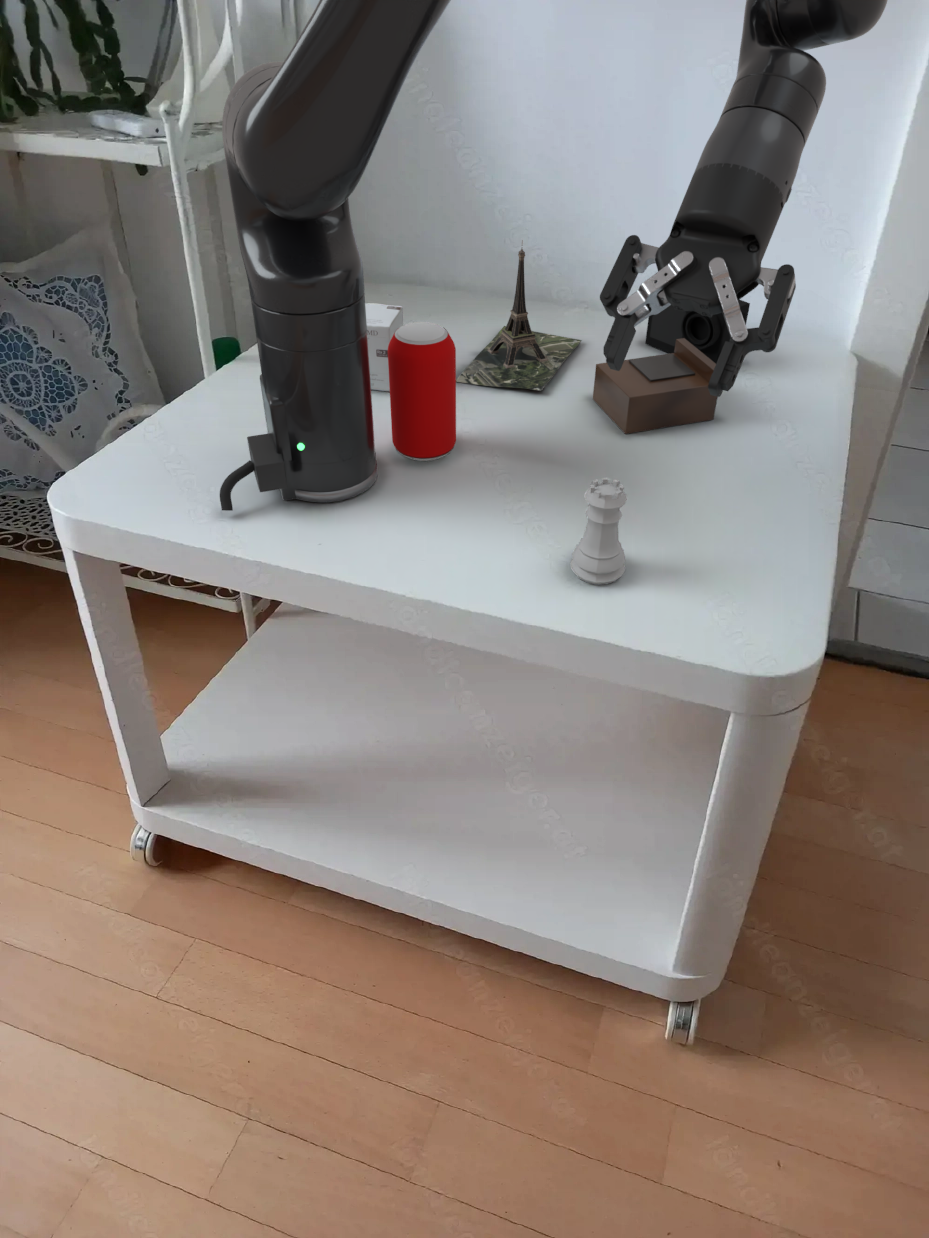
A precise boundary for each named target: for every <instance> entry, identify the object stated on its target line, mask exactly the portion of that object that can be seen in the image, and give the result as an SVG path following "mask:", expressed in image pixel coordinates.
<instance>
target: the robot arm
mask: <svg viewBox="0 0 929 1238" xmlns="http://www.w3.org/2000/svg"><path fill="white" fill-rule="evenodd" d="M451 1H452V0H319V1H318V3H317V5H316V6H315V8H314V11H313V12H312V14H311V16H310V18H309V19H308V21H307V23H306V24H305V26H304V28H303V29H302V31H301V32H300V35H299V36H298V38H297V39H296V41H295V43H294V45H293V46H292V48H291V49H290V51H289V53H288V54H287V56H286V57H285V58H284V60H283V61H268V62H264V63H261V64H258V65H255V66H253V67H252V68H250V69H249V70H248V71H246V72H245V73H243V74H242V75H241V76H240V78H238V79H237V81H236V82H235V83H234V84H233V86H232V88H231V89H230V91H229V93H228V95H227V98H226V100H225V103H224V108H223V112H222V121H221V122H222V123H221V124H222V125H221V129H222V131H221V132H222V133H221V134H222V143H223V151H224V159H225V166H226V171H227V178H228V184H229V190H230V196H231V203H232V208H233V214H234V221H235V227H236V232H237V239H238V240H237V241H238V245H239V250H240V255H241V258H242V261H243V262H242V263H243V265H244V271H245V274H246V277H247V283H248V289H249V290H248V291H249V296H250V302H251V309H252V316H253V323H254V330H255V337H256V344H257V345H256V346H257V351H258V359H259V364H260V375H259V383H260V390H261V391H260V392H261V397H262V405H263V411H264V417H265V424H266V432H267V433H263V434H256V435H249V436H248V435H247V437H246V439H247V445H248V452H249V458H250V459H249V460H248V461H247V462H245V463H244V464H242V465H240V467H238V468H236V469H235V470H234V471H232V472H231V473H230V474H229V475H227V477H226V478H225V479H224V481H223V482H222V483H221V486H220V489H219V502H220V507H221V508H220V509H221V511H225V512H226V511H227V512H228V511H229V512H230V511H234V508H233V501H232V491H233V489H234V487H235V486H236V485H237V484H238V483H239V482H240V481H241V480H243V479H244V478H246V477H247V476H249V475H251V474H252V473H253V474H254V477H255V480H256V484H257V487H258V490H259V493H265V492H271V491H277V490H279V493H280V496H281V498H282V500H283V501H289V500H290V501H291V500H299V501H303V502H311V503H333V502H339V501H344V500H348V499H351V498H354V497H357V496H359V495H361V494H363V493H364V492H366V491H367V490H369V489H370V488H371V487H372V486H373V485H374V484H375V482H376V481H377V479H378V475H379V473H378V472H379V470H378V460H377V452H376V445H375V444H376V443H375V428H374V427H375V425H374V414H373V413H374V411H373V400H372V399H373V397H372V389H371V382H370V367H369V353H368V338H367V323H366V308H365V303H366V296H365V295H366V294H365V278H364V277H365V275H364V264H363V260H362V256H361V253H360V250H359V247H358V243H357V240H356V236H355V231H354V228H353V221H352V216H351V209H350V199H349V198H350V196H351V195H352V194H353V192H354V191H355V189H356V188H357V186H358V185H359V184H360V181H361V179H362V177H363V175H364V173H365V171H366V169H367V167H368V164H369V162H370V160H371V158H372V156H373V153H374V151H375V149H376V146H377V144H378V142H379V141H380V137H381V135H382V133H383V130H384V128H385V126H386V123H387V121H388V119H389V116H390V114H391V112H392V110H393V108H394V105H395V103H396V101H397V99H398V97H399V94H400V92H401V90H402V87H403V85H404V83H405V82H406V80H407V77H408V75H409V73H410V72H411V69H412V67H413V65H414V63H415V61H416V59H417V57H418V55H419V53H420V51H421V50H422V48H423V47H424V46H425V43H426V42H427V40H428V38H429V36H430V35H431V33H432V32H433V30H434V29H435V27H436V25H437V23H438V22H439V21H440V20H441V17H442V16H443V15H444V13H445V11H446V9H447V7H448V6H449V4H450V3H451ZM887 4H888V0H745V6H744V12H743V13H744V14H743V22H742V23H743V24H742V33H741V39H740V47H739V55H738V63H737V71H736V76H735V79H734V82H733V84H732V87H731V89H730V92H729V94H728V97H727V99H726V102H725V104H724V107H723V109H722V112H721V113H720V116H719V118H718V121H717V123H716V126H715V127H714V129H713V131H712V132H711V134H710V135H709V138H708V140H707V141H706V143H705V145H704V148H703V150H702V152H701V155H700V157H699V159H698V162H697V165H696V167H695V169H694V172H693V173H692V176H691V180H690V182H689V184H688V187H687V189H686V191H685V193H684V197H683V199H682V202H681V204H680V206H679V209H678V211H677V214H676V216H675V219H674V221H673V224H672V227H671V229H670V232H669V234H668V235H669V236H668V237H667V238H666V240H665V241H664V242H663V243H662V244H661V245H660V246H654V245H650V244H646V243H643V242H641V239H640V237H639V236H638V235H637V234H632V235H629V236H628V237H627V238H626V239H625V240H624V243H623V245H622V247H621V250H620V252H619V253H618V255H617V258H616V260H615V262H614V264H613V266H612V268H611V270H610V273H609V274H608V277H607V279H606V281H605V283H604V286H603V287H602V289H601V291H600V294H599V300H600V302H601V304H602V306H603V308H604V310H605V312H606V314H607V315H608V316H609V317H613V318H614V321H613V323H612V326H611V328H610V330H609V333H608V335H607V338H606V341H605V343H604V345H603V355H604V357H605V363H607V364H608V366H609V367H610V369H612V370H616V371H620V369H621V367H622V365H623V362H624V360H626V357H627V355H628V352H629V350H630V348H631V345H632V342H633V340H634V337H635V335H636V332H637V329H636V327H637V326H638V325H639V324H641V323H642V322H643V321H645V320H647V319H648V318H649V316H651V315H657V314H659V313H660V312H661V311H663V310H664V309H666V308H667V307H668V306H670V305H672V306H674V309H675V310H680V311H695V312H697V313H699V314H701V315H703V316H707V317H712V315H715V314H719V313H721V312H722V313H723V316H724V319H725V322H726V325H727V328H728V331H729V333H730V336H731V339H730V341H729V342H728V341H725V343H724V346H723V348H722V351H721V353H720V356H719V358H718V361H717V363H716V366H715V368H714V371H713V373H712V376H711V378H710V381H709V384H708V389H709V392H710V395H713V396H717V397H718V398H720V397H721V396H722V394H723V391H724V392H729V391H730V390H732V388H733V387H734V384H735V382H736V379H737V378H738V375H739V372H740V370H741V367H742V364H743V362H744V360H745V358H746V356H747V355H748V354H749V353H751V352H757V351H758V352H759V351H762V352H763V353H771V352H773V351H775V350H776V348H777V345H778V342H779V339H780V337H781V334H782V331H783V327H784V324H785V321H786V318H787V316H788V312H789V309H790V306H791V303H792V300H793V297H794V294H795V291H796V288H797V284H796V274H795V273H796V272H795V268H794V266H793V265H792V264H789V263H787V264H783V265H781V266H779V267H778V268H771V267H770V268H769V267H762V261H763V259H764V256H765V255H766V251H767V250H768V247H769V244H770V242H771V239H772V237H773V235H774V232H775V230H776V227H777V225H778V222H779V219H780V217H781V215H782V212H783V209H784V207H785V205H786V204H787V202H788V200H789V198H790V196H791V193H792V191H793V189H792V188H793V184H794V182H795V179H796V176H797V173H798V170H799V166H800V162H801V158H802V154H803V152H804V149H805V147H806V144H807V141H808V139H809V137H810V134H811V132H812V129H813V127H814V124H815V122H816V119H817V117H818V114H819V111H820V108H821V106H822V103H823V102H824V97H825V93H826V89H827V76H826V72H825V69H824V68H823V65H822V64H821V63H820V61H819V60H818V59H817V58H815V56H813V54H812V55H811V54H810V53H808V52H806V51H808V50H813V49H818V48H821V47H822V48H823V47H826V46H831V45H834V44H835V45H836V44H840V43H844V42H848V41H851V40H855V39H858V38H860V37H863V36H864V35H865V34H867V33H869V32H870V31H871V30H872V29H873V28H874V27H875V26H876V25H877V24H878V22H879V20H880V19H881V17H882V16H883V14H884V12H885V9H886V7H887ZM653 264H655V265H656V269H657V272H656V273H654V274H652V275H651V276H650V277H649V278H647V279H645V280H644V281H643V282H642V283H641V284H640V285H639V287H638V289H637V290H636V291H635V292H633V293H632V294H630V292H631V290H632V288H633V286H634V283H635V282H636V279H637V278H638V275H639V274H644V273H645V272H646V270H647V269H648V267H649V266H651V265H653ZM759 285H760V286H762V288H763V289H762V290H763V294H764V298H765V299H766V300H767V302H766V304H765V307H764V309H763V310H764V311H763V314H762V317H761V319H760V323H759V326H758V327H750V328H749V327H747V324H746V325H745V322H744V319H743V316H742V313H741V309H740V306H739V303H738V300H742V299H743V298H744V297H745V296H747V295H748V294H749V293H751V292H752V291H753V290H755V289H756V288H757V287H758V286H759ZM662 289H663V291H662V292H660V293H659V294H658V292H659V291H660V290H662Z"/></svg>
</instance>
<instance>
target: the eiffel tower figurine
mask: <svg viewBox="0 0 929 1238" xmlns="http://www.w3.org/2000/svg"><path fill="white" fill-rule="evenodd" d="M523 242H524V241H523V239H521V245H523V244H524V243H523ZM517 256H518V265H517V277H516V284H515V293H514V298H513V304H512V309H511V310H509V312H510V316H509V318H508V320H507V323H506V325H503V327H502V328H500V330H499V332H497V334H496V335H494V337H493V338H492V339H491V341H490V342H489V343H488V344H486V346H485V347H484V348H482V350H481V351H480V352H479V353H477V355H476V356H475V357H474V359H472V361H471V362H470V363H469V364H468V365H467V366H466V367H465V369H464V370H463V371H462V373H460V375H459V376H458V377H456V383H462V384H470V385H476V386H477V385H478V386H486V387H494V388H495V387H496V388H514V389H515V388H516V389H525V390H532V391H543V390H544V389H545V387H546V386H547V385H548V383H549V382H550V381H551V380H552V379H553V377H555V375H556V373H557V372H558V370H559V369H560V368H561V366H562V365H563V364H564V362H565V361H567V359H568V357H569V356H570V355H571V354H572V353H573V351H575V349H576V348H577V347H578V346H579V345H580V343H582V341H583V339H578V338H573V337H566V336H560V335H555V334H549V333H545V332H539V331H534V330H532V329H531V325H530V322H529V317H528V314H529V312H528V311H527V306H526V305H527V304H526V292H525V291H526V290H525V289H526V288H525V258H526V252H525V251H524V249H523V248H521V249H520V250H519V251H518V254H517Z"/></svg>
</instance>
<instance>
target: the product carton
mask: <svg viewBox="0 0 929 1238" xmlns="http://www.w3.org/2000/svg"><path fill="white" fill-rule="evenodd" d="M365 308H366V323H367V338H368V353H369V367H370V382H371V391H372V390H373V391H381V392H382V391H383V392H390V387H389V367H388V345H389V342H390V340H391V338H392V337H393V335H394V333H395V331H396V330H397V329H398V328H400V327H401V326H403V325H404V306H402V305H392V304H391V305H390V304H383V303H376V302H369V303H367V302H365Z"/></svg>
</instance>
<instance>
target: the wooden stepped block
mask: <svg viewBox="0 0 929 1238" xmlns="http://www.w3.org/2000/svg"><path fill="white" fill-rule="evenodd" d="M715 366H716V363H714V362H713V361H712V360H711V359H709V358H708V357H707V356H706V355H705V354H703V353H702V352H701V351H700V350H698V349H697V348H696V347H695V346H693V345H692V344H691V343H690V342H689V341H687V340H686V339H685V338H682V339H676V343H675V350H674V353H670V354H669V353H665V354H664V353H663V354H658V355H650V356H643V357H636V358H629V359H625V360H624V362H623V365H622V367H621V369H620V371H616V370H612V369H610V367H609V366H608V364H607V362H601V363H596V364H595V369H594V370H595V372H594V382H593V392H592V400H593V401H594V402H595V404H597V406H598V407H599V408H600V409H601V410H602V411H603V412H604V413H605V414H606V415H607V417H609V418H610V419H611V421H612V422H613V423H614V424H615V425H616V426H617V427H618V428H619V429H620V430H621V431H622V433H624V434H625V435H627V434H633V433H639V432H646V431H653V430H658V429H664V428H670V427H677V426H681V425H682V426H683V425H689V424H695V423H702V422H707V421H712V420H714V418H715V414H716V409H717V404H718V398H719V397H717V396H713V395H710V392H709V389H708V384H709V381H710V378H711V376H712V373H713V371H714V368H715Z"/></svg>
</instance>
